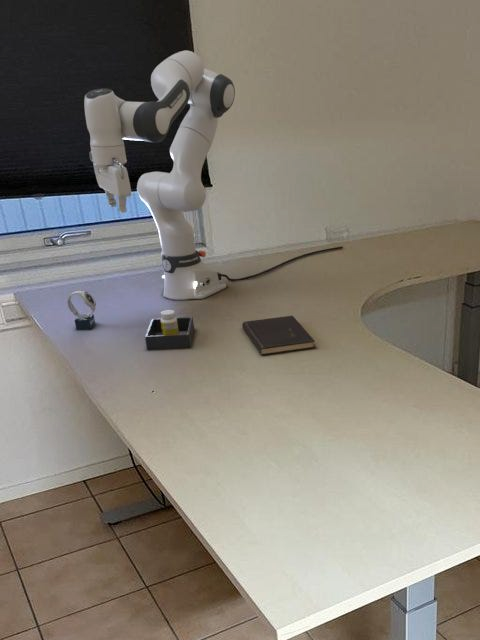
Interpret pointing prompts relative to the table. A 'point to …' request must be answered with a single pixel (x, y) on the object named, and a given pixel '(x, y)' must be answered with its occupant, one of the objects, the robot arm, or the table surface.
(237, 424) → the table surface
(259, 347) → the hardcover book
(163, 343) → the tray
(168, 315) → the supplement bottle
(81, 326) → the watch
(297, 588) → the table surface
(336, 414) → the table surface
